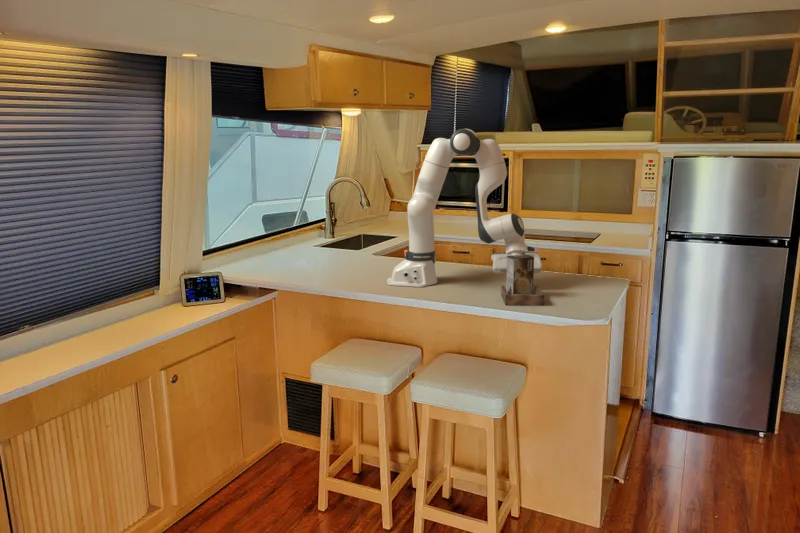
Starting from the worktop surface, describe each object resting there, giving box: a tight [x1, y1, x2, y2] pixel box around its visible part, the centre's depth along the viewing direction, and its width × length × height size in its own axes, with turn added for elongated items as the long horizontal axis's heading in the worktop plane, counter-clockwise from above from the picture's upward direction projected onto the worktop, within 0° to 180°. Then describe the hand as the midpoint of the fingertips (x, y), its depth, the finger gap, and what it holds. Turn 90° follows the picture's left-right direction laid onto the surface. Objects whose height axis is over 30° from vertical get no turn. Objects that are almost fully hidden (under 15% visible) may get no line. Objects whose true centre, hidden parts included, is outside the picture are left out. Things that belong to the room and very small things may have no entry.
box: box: [500, 284, 545, 307], centre depth 230 cm, size 14×15×4 cm
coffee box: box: [505, 254, 535, 295], centre depth 236 cm, size 9×6×16 cm
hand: (518, 280), depth 241 cm, fingers closed
